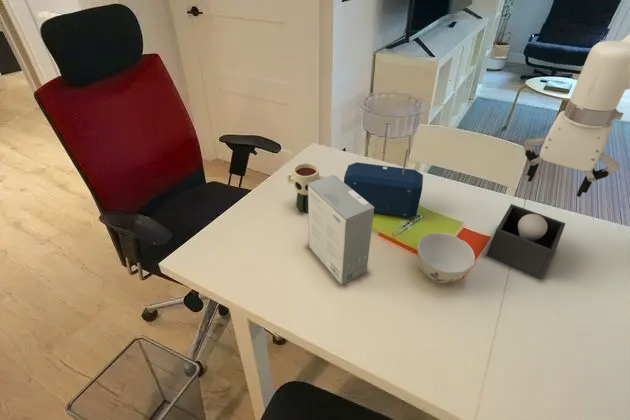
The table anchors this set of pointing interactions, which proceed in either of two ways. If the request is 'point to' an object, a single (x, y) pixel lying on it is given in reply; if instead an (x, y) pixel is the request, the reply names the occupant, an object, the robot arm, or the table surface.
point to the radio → (387, 187)
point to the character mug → (303, 182)
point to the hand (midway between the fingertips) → (554, 186)
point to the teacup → (444, 257)
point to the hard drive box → (339, 227)
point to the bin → (524, 243)
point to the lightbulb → (532, 227)
